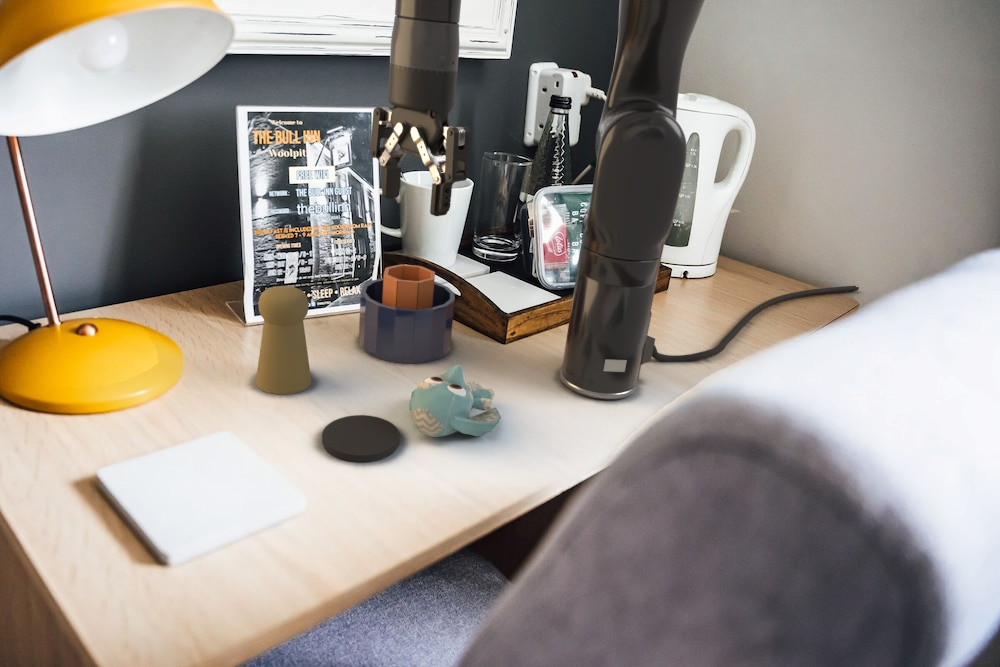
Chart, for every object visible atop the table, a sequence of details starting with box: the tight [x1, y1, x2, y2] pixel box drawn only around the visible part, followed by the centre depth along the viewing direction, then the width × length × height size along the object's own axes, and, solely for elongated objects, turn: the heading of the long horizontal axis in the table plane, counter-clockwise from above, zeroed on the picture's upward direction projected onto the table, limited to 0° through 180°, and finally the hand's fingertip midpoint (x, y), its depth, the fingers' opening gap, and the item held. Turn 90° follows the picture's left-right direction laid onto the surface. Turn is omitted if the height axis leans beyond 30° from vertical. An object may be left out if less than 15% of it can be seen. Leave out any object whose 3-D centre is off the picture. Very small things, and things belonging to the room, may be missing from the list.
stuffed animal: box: [408, 364, 502, 438], centre depth 81 cm, size 11×7×12 cm
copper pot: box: [382, 263, 436, 309], centre depth 97 cm, size 6×6×9 cm
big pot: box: [358, 277, 456, 364], centre depth 98 cm, size 12×12×7 cm
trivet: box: [321, 414, 401, 463], centre depth 77 cm, size 8×8×1 cm
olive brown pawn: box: [255, 285, 312, 395], centre depth 84 cm, size 6×6×11 cm
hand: (413, 205), depth 92 cm, fingers open, 8 cm apart
